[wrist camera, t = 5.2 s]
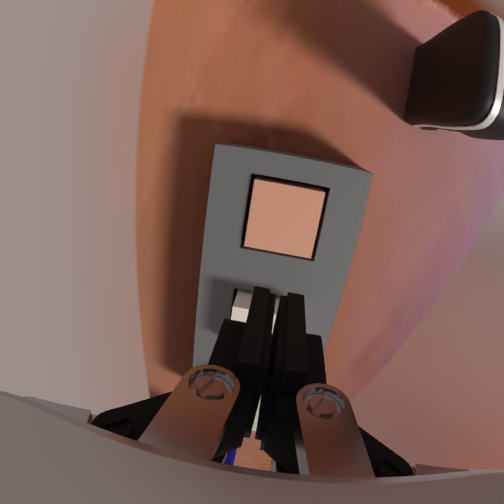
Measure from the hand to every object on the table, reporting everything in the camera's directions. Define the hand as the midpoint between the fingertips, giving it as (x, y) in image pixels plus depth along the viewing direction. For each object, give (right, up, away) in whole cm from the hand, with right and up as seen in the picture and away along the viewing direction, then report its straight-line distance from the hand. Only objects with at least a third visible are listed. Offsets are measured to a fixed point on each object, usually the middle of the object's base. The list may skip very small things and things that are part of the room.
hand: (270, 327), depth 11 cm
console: (+1, -1, +16) cm, 16 cm away
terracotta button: (+2, +6, +12) cm, 14 cm away
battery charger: (+13, +15, +9) cm, 22 cm away
